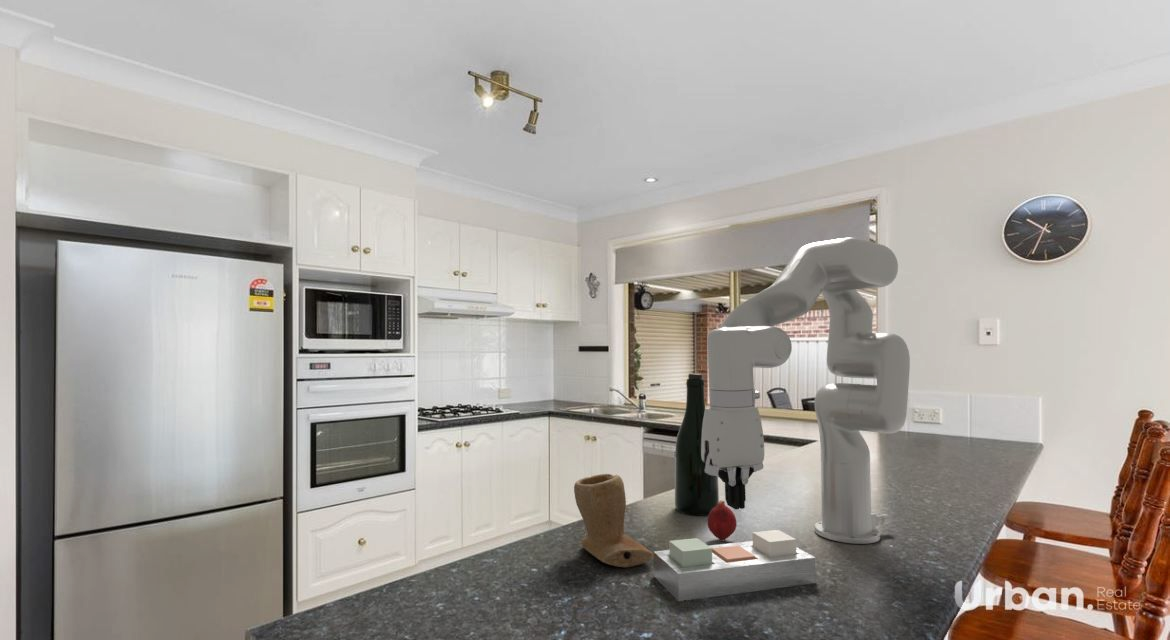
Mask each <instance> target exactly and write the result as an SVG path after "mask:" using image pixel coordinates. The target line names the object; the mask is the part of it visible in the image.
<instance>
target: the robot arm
mask: <svg viewBox="0 0 1170 640" xmlns="http://www.w3.org/2000/svg"><path fill="white" fill-rule="evenodd" d="M898 270H899V263H898V259H897V256H896V254H895V252H893V251H892V249H890V248H889V247H888V246H886V245H884V244H881V243H876V242H874V241H870V240H866V239H862V238H857V237H844V238H842V237H841V238H836V239H829V240H823V241H816V242H811V243H808V244H805V245H803V246H800V248H799V249H797V250H796V252H795V253H794V255H793V256H792V257H791V258H790V260H789V261H788V262H787V264H786V265H785V267H784V268H783V269H782V271H781V272H780V274H779V275H778V276H777V277H776V279H775V281H774V282H773V283H772V284H771V285H770V286H769V287H767V288H765V289H763V290H761V291H760V292H758V293H756V294H754V295H753V296H752V297H750V298H749V299H746V300H745V301H743V302H742V303H740V304H739V305H737V306H736V307H735V308H734V309H733V310H732V311H730V313H729V314H728V315H727V316H726V318H725V319H724V320H723V322H722V323H721V324H720V325H719V327H718V328H715V329H712V330H710V331H709V332H708V333H707V338H706V339H707V340H706V341H707V343H706V344H707V345H706V346H707V366H708V367H707V370H708V371H707V372H708V394H709V407H705V412H704V417H703V425H702V439H701V457H702V461H703V462H704V463H706V465H705V473H707V474H709V475H713V476H718V479H720V480H721V481H722V482H723V483H724V496H725V497H724V498H725V503H726V506H727V507H728V506H729V508H732V509H734V510H739V509H741V510H743V509H745V506H746V504H745V503H746V500H747V499H746V485H748V483H749V479H750V477H751V476H752V475H753V473H757V472H758V471H759V472H760V471H761V470H763V469H764V463H763V462H764V460H765V442H764V441H765V438H764V431H763V424H762V419H761V415H760V411H759V408H758V406H755V404H756V400H759V399H760V397H761V393H760V391H757V390H755V386H754V385H755V382H754V380H755V379H754V369H757V368H758V369H773V368H777V367H780V366H782V365H784V364H785V363H786V362H787V361H788V359H789V358H790V357H791V354H792V350H793V349H792V348H793V347H792V341H791V338H790V336H789V335H788V333H787V332H786V331H784V330H783V329H782V328H780V327H777V325H781V324H784V323H786V322H790V321H792V320H795V319H798V318H800V317H802V316H804V315H805V314H807V313H808V312H809V311H810V310H811V309H812V308H813V306H814V305H815V303H816V301H817V300H818V298H819V296H820V295H821V294H822V296H823V298H824V299H825V302H826V304H827V307H828V311H829V327H828V328H829V329H828V339H827V340H828V341H827V349H826V366H827V369H828V371H829V373H831V374H833V376H834V375H835V376H836V377H841V378H849V379H850V378H851V379H868V380H869V379H870V380H871V379H872V380H873V379H874V380H876V384H861V383H845V382H842V383H841V382H840V383H839V382H838V383H836V382H835V383H828V384H825V385H824V386H822V387H820V388H819V389H818V391H817V392H816V394H815V396H814V411H815V416H816V421H817V426H818V431H819V432H818V433H819V442H820V445H819V446H820V482H821V484H820V486H821V487H820V488H821V494H820V496H821V520H820V521H817V522H816V523H814V524H813V527H814V528H813V529H814V532H815V533H816V535H819V536H821V537H822V538H825V539H828V540H831V541H834V542H835V541H836V542H839V543H845V544H852V545H854V544H856V545H859V544H860V545H865V544H867V545H870V544H875V543H877V542H879V541H880V540H881V532H880V530H878V528H877V526H879V525H885V524H886V525H887V524H890V523H891V516H890V515H889V514H887V513H884V514H883V513H882V514H876V513H875V512H872V482H871V453H870V449H869V445H868V443H867V442H866V439H865V438H864V437H863V435H862V434H861V432H860V431H862V432H869V433H876V434H877V433H878V434H895V433H898V432H899V431H901V430H902V429H903V427H904V425H905V423H906V418H907V413H908V401H909V399H908V398H909V384H910V370H911V368H910V367H911V366H910V365H911V362H910V361H911V358H910V351H909V347H908V345H907V342H906V341H905V340H904V338H902V337H901V336H899V335H898V334H895V333H890V332H889V333H888V332H873V322H874V321H873V320H874V319H873V318H874V312H873V309H872V307H871V306H870V304H869V303H868V300H866V299H865V298H864V296H862V295H861V294H860V292H858V291H857V290H865V289H866V290H867V289H877V288H883V287H884V288H885V287H887V286H889V285H890V284H892V283H893V282H894V281H895V279H896V278H897V275H898V272H899V271H898Z"/></svg>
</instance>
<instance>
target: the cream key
mask: <svg viewBox="0 0 1170 640" xmlns="http://www.w3.org/2000/svg"><path fill="white" fill-rule="evenodd" d="M752 541H753V548H754V549H756V550H757V551H759V552H761V553H762V554H764V555H766V556H767V557H769V558H771V557H780V556H788V555H797V553H796V547H797V539H796V538H794V536H793V537H792V536H791V535H789V534H787V533H785V532H783V531H781V530H779V529H774V530H773V529H772V530H763V531H754V532H753V531H752Z"/></svg>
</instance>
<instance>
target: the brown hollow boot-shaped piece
mask: <svg viewBox="0 0 1170 640" xmlns="http://www.w3.org/2000/svg"><path fill="white" fill-rule="evenodd" d="M573 493H574V499H575V504H576V506H577V509H578V511H579V513H580V516H581V517H582V520H583V523H584V526H585V529H586V533H587V536H586V537H584V538H582V539H581V545H582V547H583V548H584V550H585V551H587V552H588V553H589V554H590V555H592V556H593V557H595V558H596V559H597V560H599V561H600V562H602V563H604V564H607V565H609V566H614V567H618V568H631V567H635V566H639V565H642V564H644V563H647V562H650V560H652V559H654V555H653V552H652V551H651V550H649V549H648V548H646V547H645V546H644V545H642V544H641V543H639V542H638V541H636V540H634V539H633V538H632V537H630V536H629V535H626V533H625V525H624V524H625V517H626V516H625V515H626V506H627V501H626V499H627V498H626V491H625V484H624V480H623V479H622V477H621V476H620V475H619V474H615V475H613V474H611V473H603V474H602V473H601V474H595V475H592V476H586V477H582V478H579V479H578V480H577V481H575V483H574V487H573Z"/></svg>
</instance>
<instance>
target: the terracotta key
mask: <svg viewBox="0 0 1170 640" xmlns="http://www.w3.org/2000/svg"><path fill="white" fill-rule="evenodd" d="M712 553H714V554H715V555H716V556H718V557H719V558H721V559H722V560H723V561H725V562H726V563H729V562H737V561H746V560H754V559H755V556H754V555H753V554H751V553H750V552H748V551H746V550H745V549H743V548H742V547H740V546H730V547H721V548H712Z"/></svg>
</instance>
